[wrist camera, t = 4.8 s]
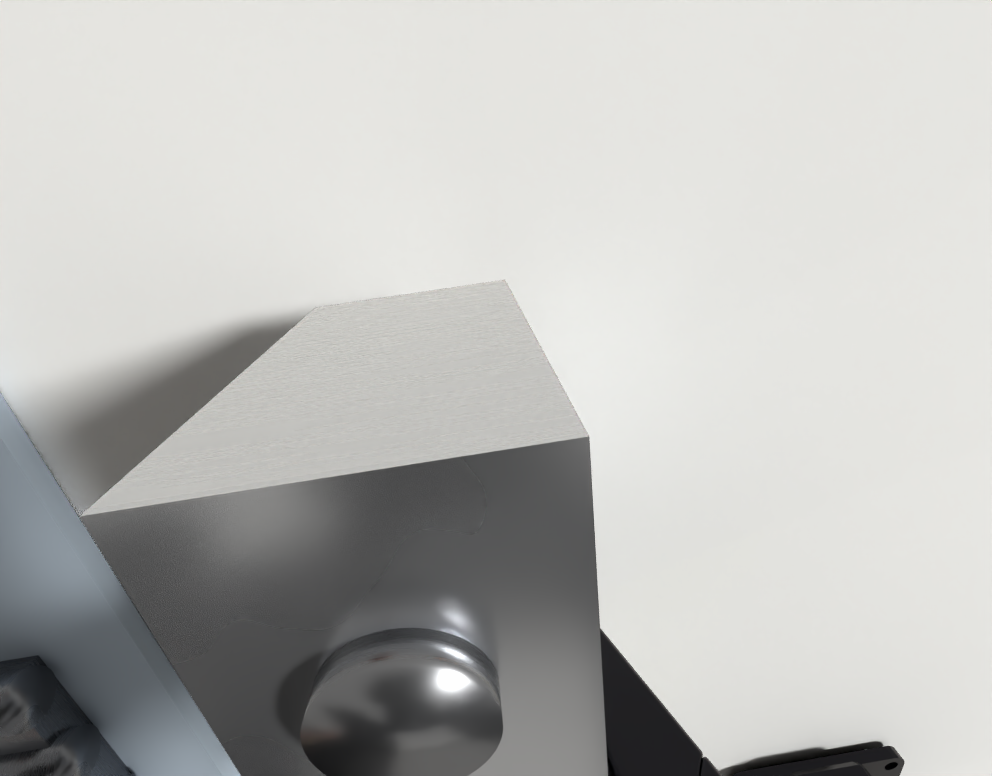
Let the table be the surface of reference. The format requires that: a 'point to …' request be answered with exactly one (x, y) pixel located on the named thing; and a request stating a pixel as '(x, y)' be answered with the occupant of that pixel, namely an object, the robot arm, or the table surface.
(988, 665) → the table surface
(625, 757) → the robot arm
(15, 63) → the table surface
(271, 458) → the link
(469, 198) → the table surface
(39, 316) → the table surface
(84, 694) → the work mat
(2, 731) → the chain end
